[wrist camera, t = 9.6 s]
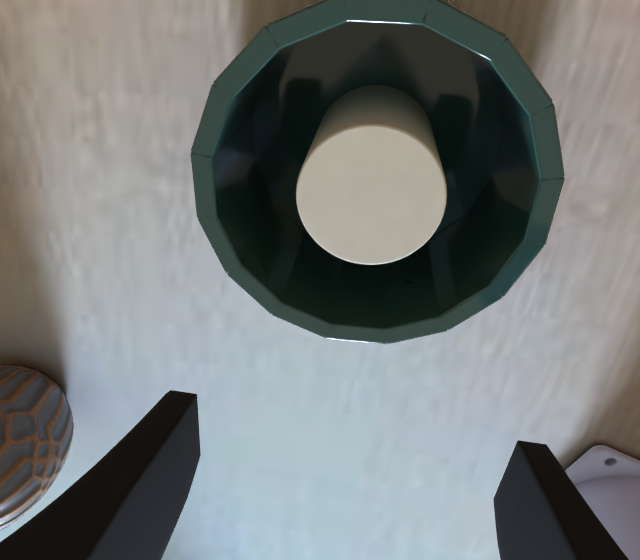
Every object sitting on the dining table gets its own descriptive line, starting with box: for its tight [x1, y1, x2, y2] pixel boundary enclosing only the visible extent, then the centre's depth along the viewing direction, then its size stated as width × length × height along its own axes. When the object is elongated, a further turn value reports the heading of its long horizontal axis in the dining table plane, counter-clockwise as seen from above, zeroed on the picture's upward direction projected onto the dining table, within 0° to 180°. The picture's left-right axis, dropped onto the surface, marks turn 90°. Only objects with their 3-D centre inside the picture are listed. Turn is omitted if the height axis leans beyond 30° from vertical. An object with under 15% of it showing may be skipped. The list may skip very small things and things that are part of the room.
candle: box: [296, 85, 447, 265], centre depth 16 cm, size 4×4×5 cm
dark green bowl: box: [191, 0, 564, 344], centre depth 16 cm, size 10×10×6 cm
